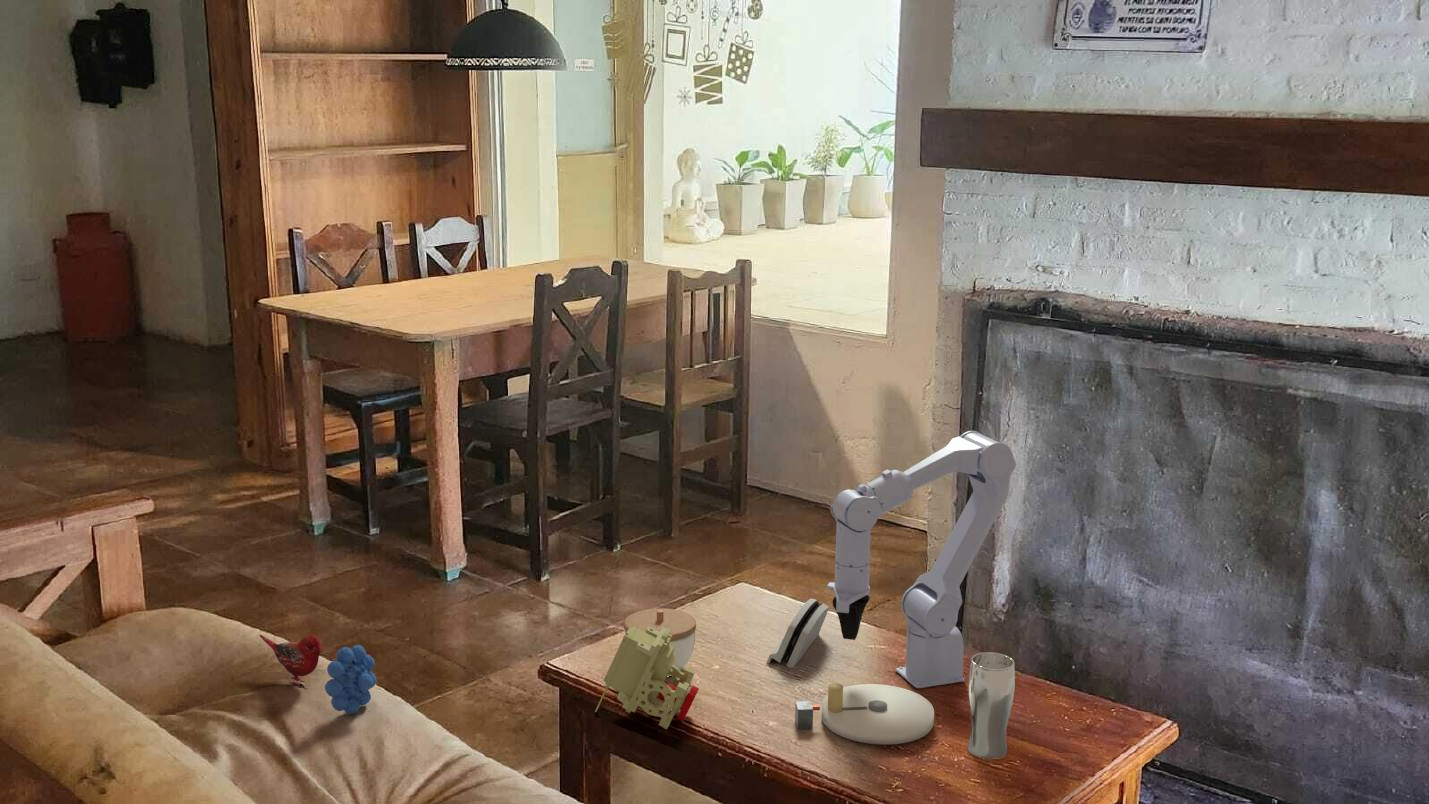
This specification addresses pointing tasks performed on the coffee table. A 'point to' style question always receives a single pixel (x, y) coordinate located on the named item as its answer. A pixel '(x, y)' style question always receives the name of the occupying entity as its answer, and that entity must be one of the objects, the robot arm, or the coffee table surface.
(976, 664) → the beer glass
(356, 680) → the grapes
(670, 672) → the mechanical component
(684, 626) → the lidded bowl
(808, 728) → the gray block
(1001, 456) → the robot arm
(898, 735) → the turntable
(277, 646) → the decorative bird figurine
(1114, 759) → the coffee table surface
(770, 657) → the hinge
